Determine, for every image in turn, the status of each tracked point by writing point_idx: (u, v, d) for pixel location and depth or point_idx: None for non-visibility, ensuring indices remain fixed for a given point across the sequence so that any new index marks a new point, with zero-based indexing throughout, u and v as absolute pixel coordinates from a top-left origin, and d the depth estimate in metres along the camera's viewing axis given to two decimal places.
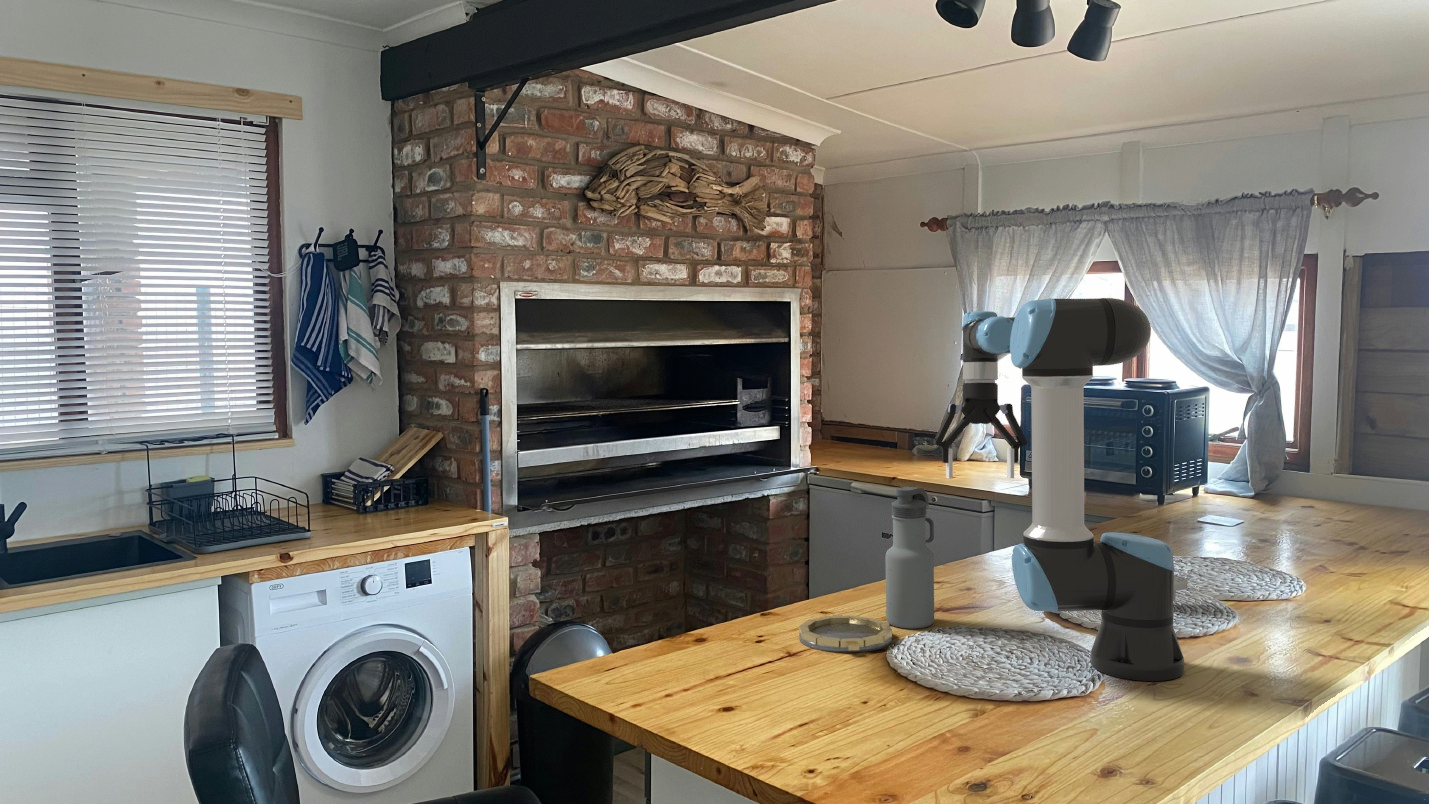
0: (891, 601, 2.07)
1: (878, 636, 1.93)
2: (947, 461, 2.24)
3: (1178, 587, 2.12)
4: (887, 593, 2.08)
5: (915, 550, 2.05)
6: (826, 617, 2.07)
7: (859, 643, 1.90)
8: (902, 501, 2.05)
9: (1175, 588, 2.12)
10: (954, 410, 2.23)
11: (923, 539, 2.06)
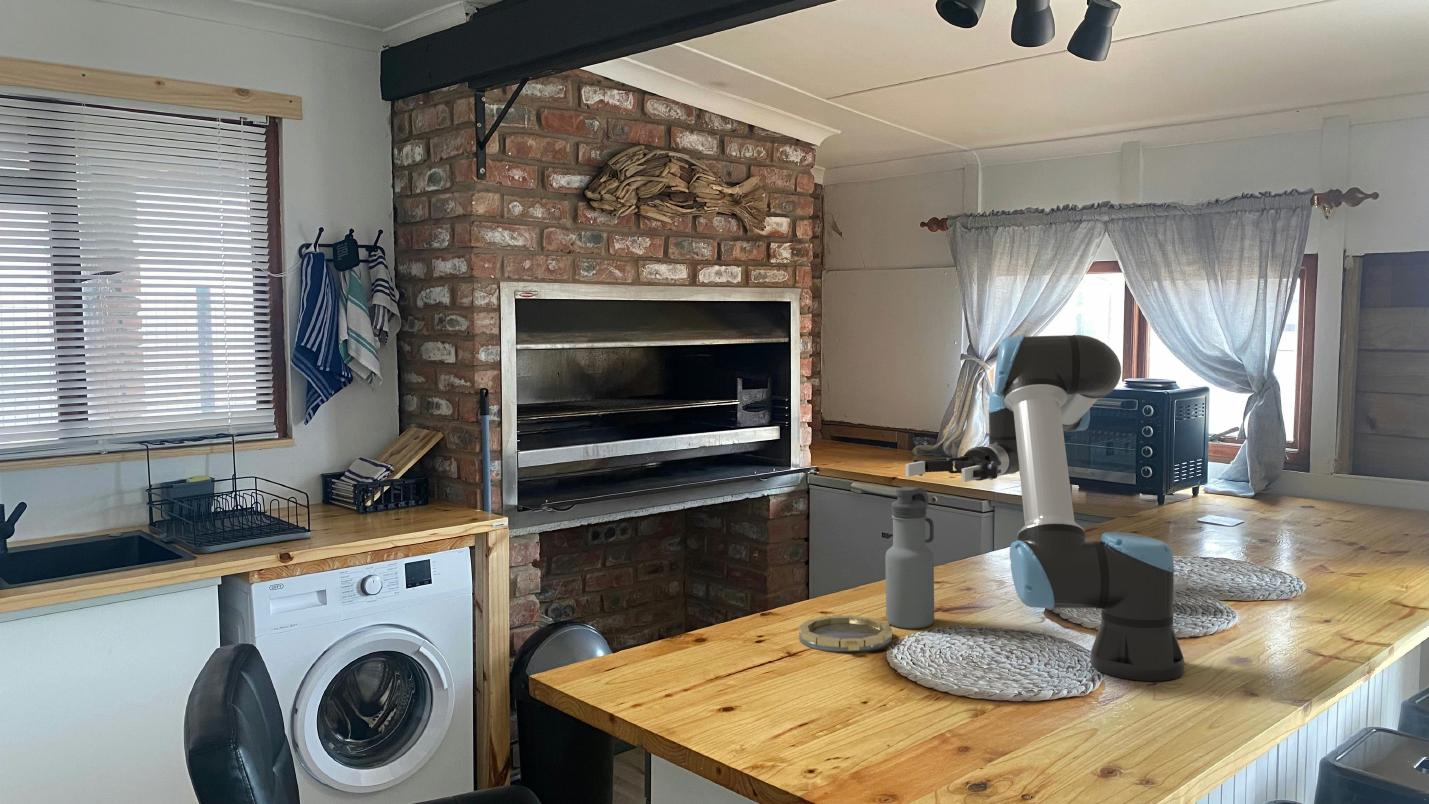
0: (891, 601, 2.07)
1: (878, 636, 1.93)
2: None
3: (1178, 587, 2.12)
4: (887, 593, 2.08)
5: (915, 550, 2.05)
6: (826, 617, 2.07)
7: (859, 643, 1.90)
8: (902, 501, 2.05)
9: (1175, 588, 2.12)
10: (946, 458, 2.29)
11: (923, 539, 2.06)
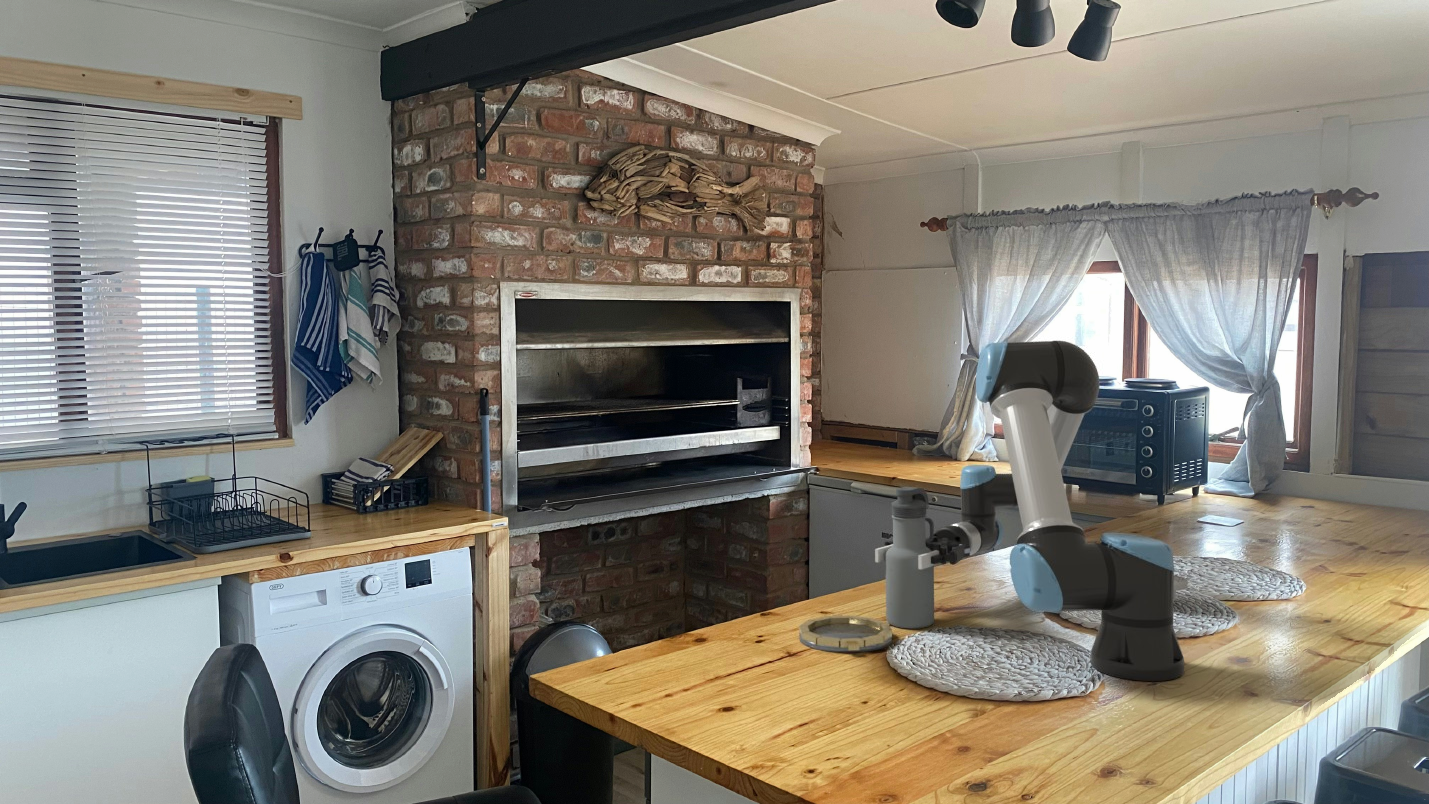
0: (891, 601, 2.07)
1: (878, 636, 1.93)
2: None
3: (1178, 587, 2.12)
4: (887, 593, 2.08)
5: (915, 550, 2.05)
6: (826, 617, 2.07)
7: (859, 643, 1.90)
8: (902, 501, 2.05)
9: (1175, 588, 2.12)
10: None
11: (923, 539, 2.06)
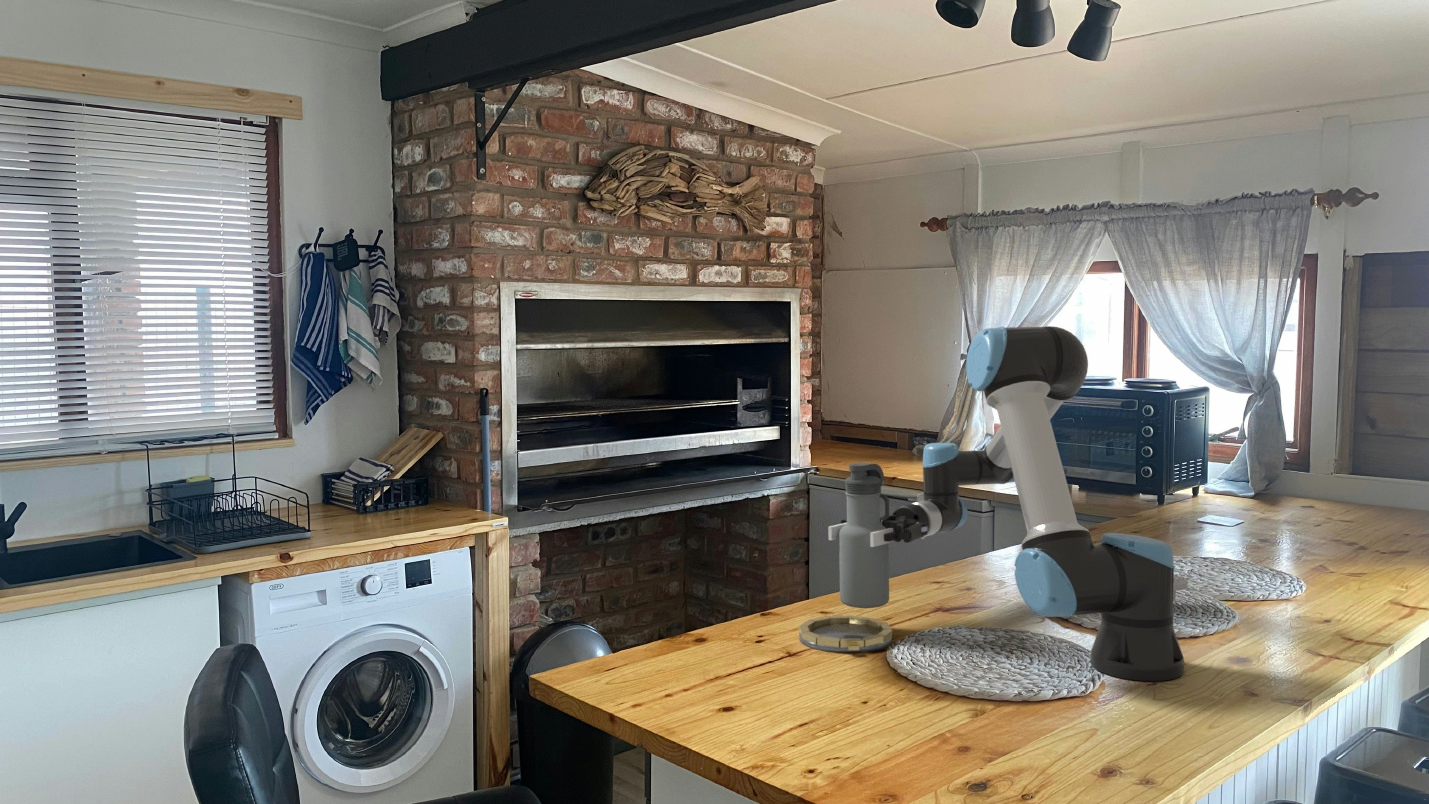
0: (844, 579, 2.01)
1: (878, 636, 1.93)
2: None
3: (1178, 587, 2.12)
4: (840, 571, 2.02)
5: (868, 527, 1.99)
6: (826, 617, 2.07)
7: (859, 643, 1.90)
8: (855, 477, 2.00)
9: (1175, 588, 2.12)
10: None
11: (877, 516, 2.01)
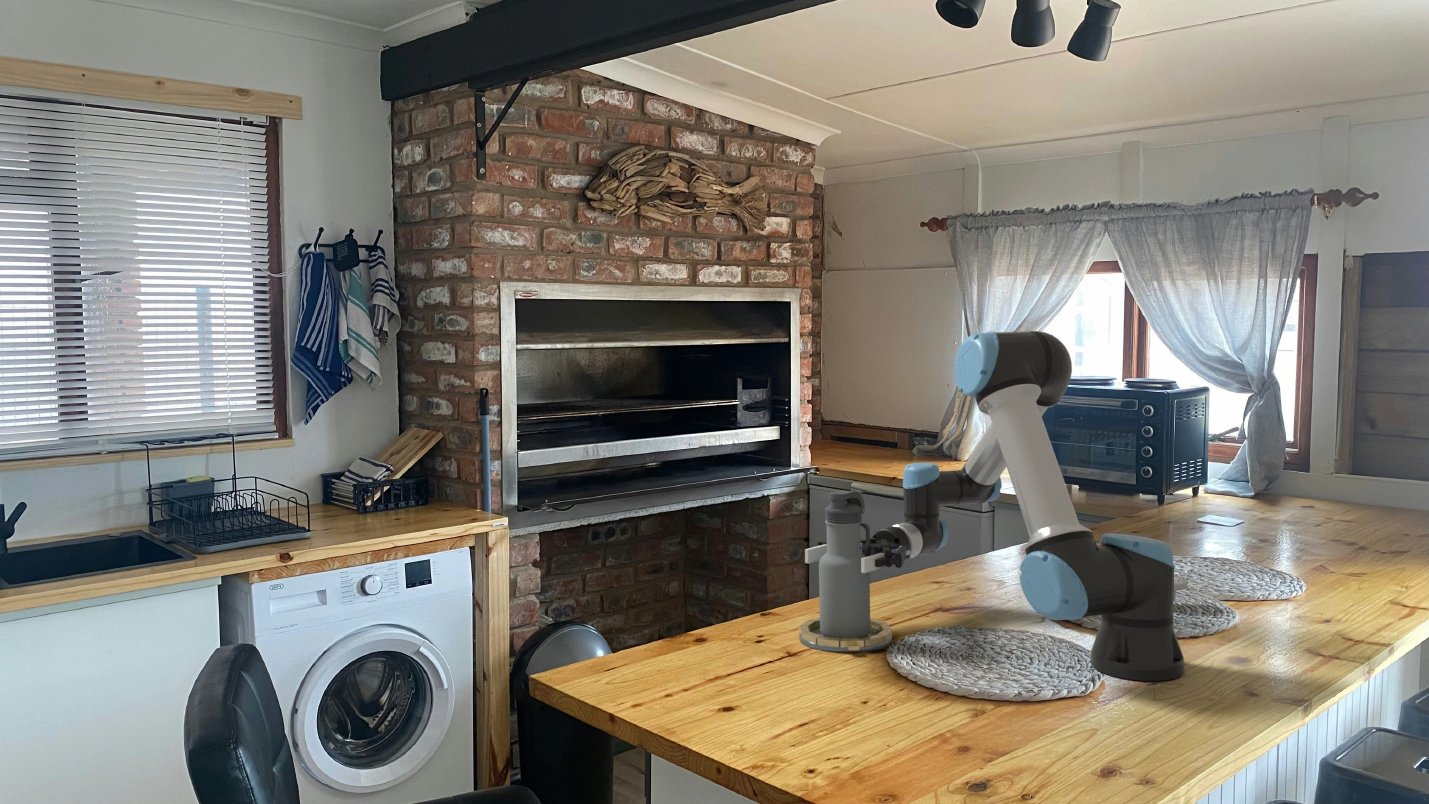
0: (824, 610, 1.96)
1: (878, 636, 1.93)
2: None
3: (1178, 587, 2.12)
4: (820, 602, 1.98)
5: (849, 557, 1.95)
6: None
7: (859, 643, 1.90)
8: (835, 505, 1.95)
9: (1175, 588, 2.12)
10: None
11: (857, 545, 1.96)
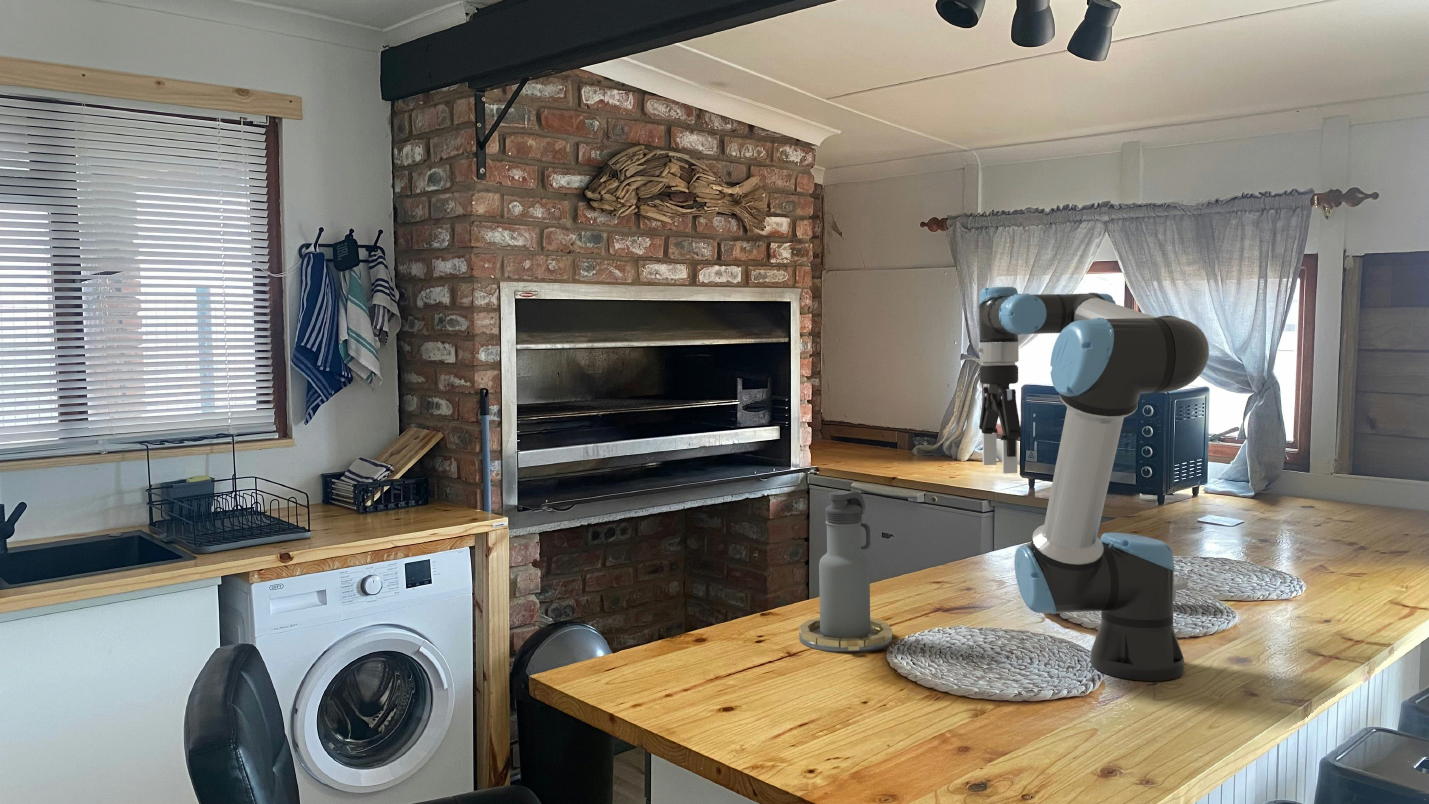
0: (824, 611, 1.96)
1: (878, 636, 1.93)
2: None
3: (1178, 587, 2.12)
4: (820, 602, 1.98)
5: (849, 557, 1.95)
6: None
7: (859, 643, 1.90)
8: (835, 506, 1.95)
9: (1175, 588, 2.12)
10: None
11: (858, 546, 1.96)
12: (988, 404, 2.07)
